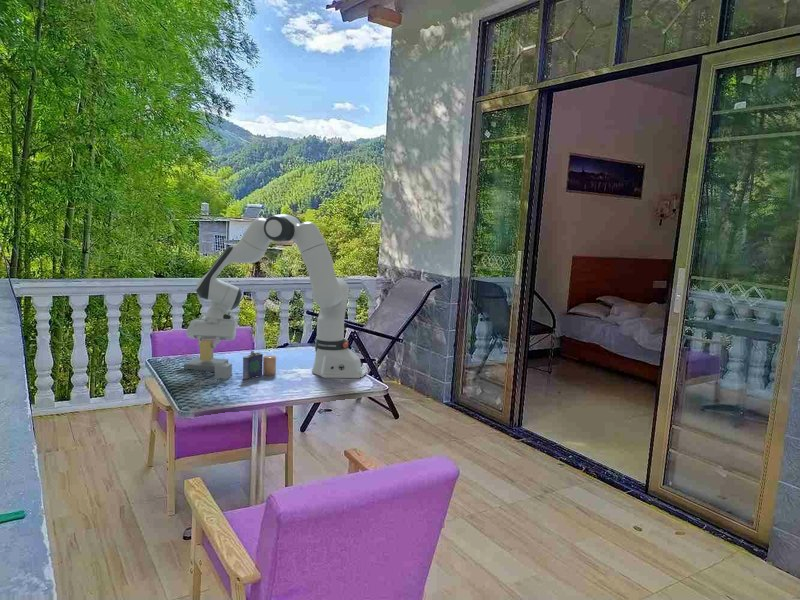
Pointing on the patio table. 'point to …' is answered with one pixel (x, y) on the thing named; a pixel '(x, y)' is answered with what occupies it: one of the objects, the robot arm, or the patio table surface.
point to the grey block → (223, 370)
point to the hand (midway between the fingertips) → (206, 346)
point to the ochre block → (206, 350)
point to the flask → (252, 365)
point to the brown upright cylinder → (269, 365)
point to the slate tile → (204, 364)
